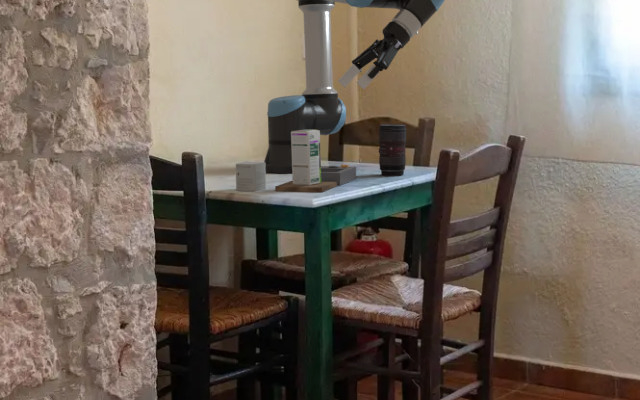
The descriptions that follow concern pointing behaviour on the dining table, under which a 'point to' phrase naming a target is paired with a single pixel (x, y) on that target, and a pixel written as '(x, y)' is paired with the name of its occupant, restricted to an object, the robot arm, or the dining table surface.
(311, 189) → the walnut board
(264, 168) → the product box
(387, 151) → the camera lens
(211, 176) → the dining table surface
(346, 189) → the dining table surface
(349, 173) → the grey frame with knob
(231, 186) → the dining table surface
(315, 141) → the syrup box
